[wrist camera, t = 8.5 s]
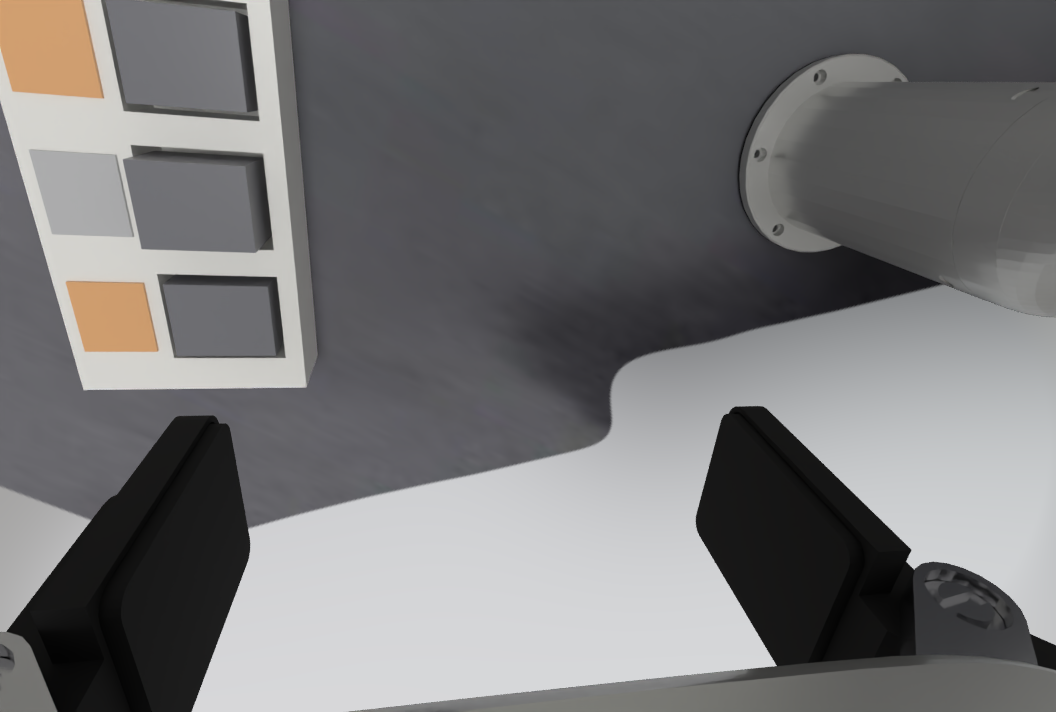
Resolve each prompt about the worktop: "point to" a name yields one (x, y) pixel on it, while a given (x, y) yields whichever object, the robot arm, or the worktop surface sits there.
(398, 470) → the worktop surface
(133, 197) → the button
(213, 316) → the button
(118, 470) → the worktop surface
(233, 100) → the button
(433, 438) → the worktop surface
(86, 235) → the switch box
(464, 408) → the worktop surface
